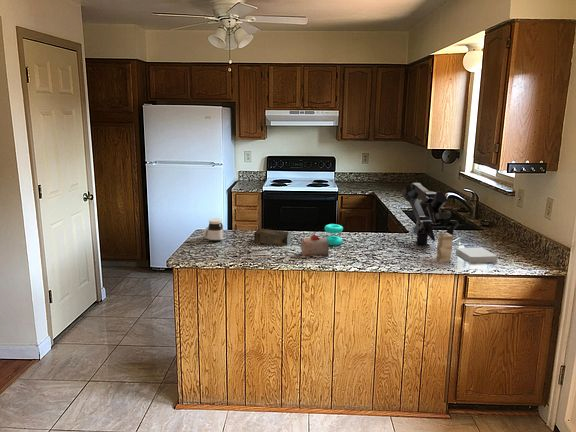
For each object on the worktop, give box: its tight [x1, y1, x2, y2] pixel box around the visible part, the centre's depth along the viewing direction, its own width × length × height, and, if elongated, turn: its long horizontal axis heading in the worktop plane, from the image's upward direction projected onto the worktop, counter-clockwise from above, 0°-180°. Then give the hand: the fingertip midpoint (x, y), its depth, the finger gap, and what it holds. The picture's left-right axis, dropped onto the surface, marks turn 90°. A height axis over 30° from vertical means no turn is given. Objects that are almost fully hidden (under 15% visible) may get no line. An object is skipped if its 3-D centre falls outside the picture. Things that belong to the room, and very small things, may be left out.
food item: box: [300, 234, 330, 257], centre depth 231 cm, size 14×8×10 cm, turn 97°
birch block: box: [435, 232, 454, 263], centre depth 226 cm, size 5×5×13 cm
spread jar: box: [202, 218, 224, 243], centre depth 252 cm, size 12×11×12 cm
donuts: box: [324, 223, 344, 246], centre depth 250 cm, size 10×10×10 cm
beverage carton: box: [253, 228, 292, 246], centre depth 251 cm, size 8×19×7 cm, turn 75°
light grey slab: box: [455, 246, 498, 264], centre depth 231 cm, size 14×14×3 cm
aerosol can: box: [419, 200, 430, 217], centre depth 280 cm, size 8×8×20 cm
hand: (443, 240), depth 227 cm, fingers open, 9 cm apart
